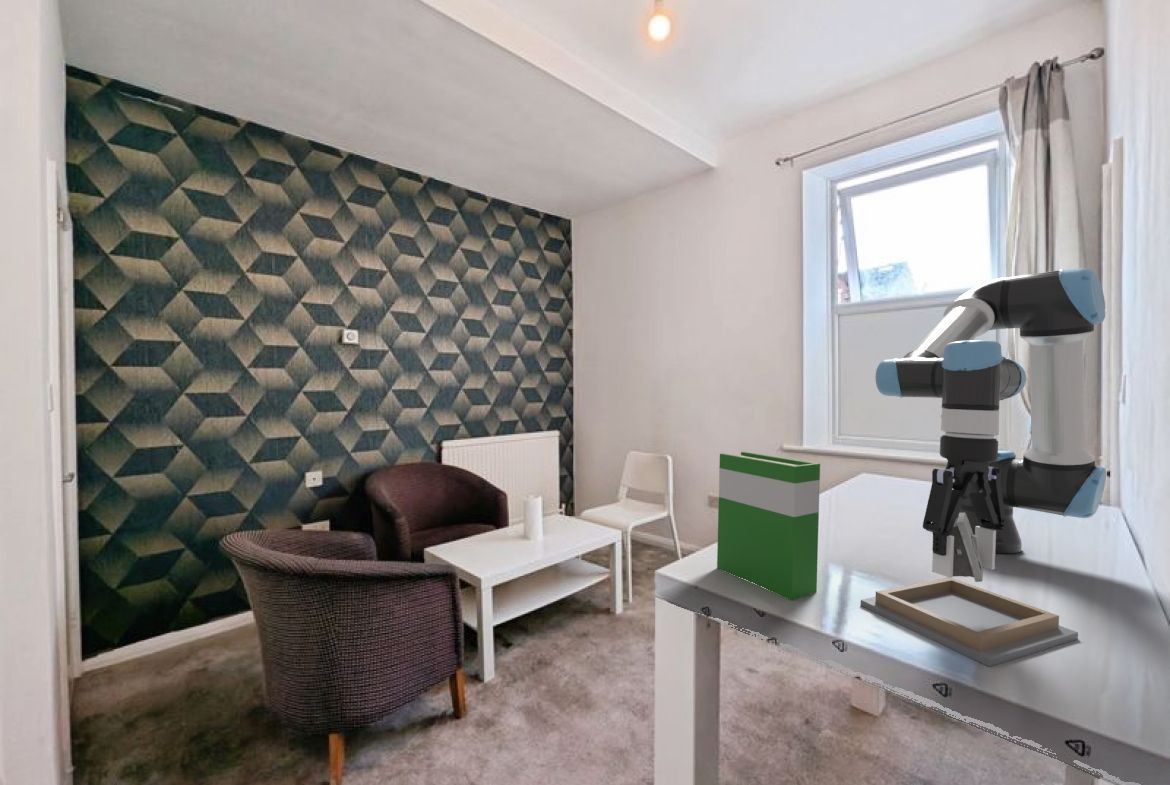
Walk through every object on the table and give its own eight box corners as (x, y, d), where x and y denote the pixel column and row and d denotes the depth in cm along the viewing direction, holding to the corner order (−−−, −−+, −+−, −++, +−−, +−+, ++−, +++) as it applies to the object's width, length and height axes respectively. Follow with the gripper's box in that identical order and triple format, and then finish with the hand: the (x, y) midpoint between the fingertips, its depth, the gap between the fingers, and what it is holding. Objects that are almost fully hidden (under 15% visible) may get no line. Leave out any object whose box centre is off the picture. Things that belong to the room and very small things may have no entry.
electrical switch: (982, 584, 76) (977, 523, 77) (941, 579, 80) (936, 520, 80) (983, 568, 84) (978, 513, 84) (945, 564, 87) (941, 510, 87)
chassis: (943, 588, 95) (943, 572, 95) (1077, 638, 77) (1078, 619, 77) (860, 605, 87) (861, 588, 87) (989, 666, 69) (989, 645, 68)
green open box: (717, 568, 104) (719, 453, 103) (741, 562, 107) (743, 451, 107) (791, 600, 89) (795, 466, 88) (816, 592, 92) (820, 463, 92)
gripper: (986, 432, 89) (981, 555, 89) (898, 434, 81) (894, 570, 81) (1037, 436, 82) (1031, 570, 82) (947, 439, 74) (942, 588, 74)
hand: (963, 570), depth 82 cm, fingers closed on electrical switch, 10 cm apart
